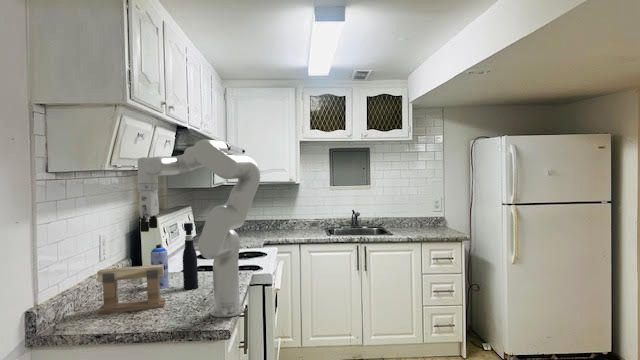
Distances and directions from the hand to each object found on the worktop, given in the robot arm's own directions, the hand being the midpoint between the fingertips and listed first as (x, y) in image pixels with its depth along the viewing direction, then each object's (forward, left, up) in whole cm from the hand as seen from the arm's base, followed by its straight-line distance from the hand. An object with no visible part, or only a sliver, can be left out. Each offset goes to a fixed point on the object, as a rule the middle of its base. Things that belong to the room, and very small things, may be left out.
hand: (149, 229), depth 182 cm
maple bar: (-1, +7, -19) cm, 20 cm away
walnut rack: (-1, +7, -31) cm, 32 cm away
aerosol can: (+29, -1, -31) cm, 42 cm away
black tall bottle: (+21, -15, -31) cm, 40 cm away
